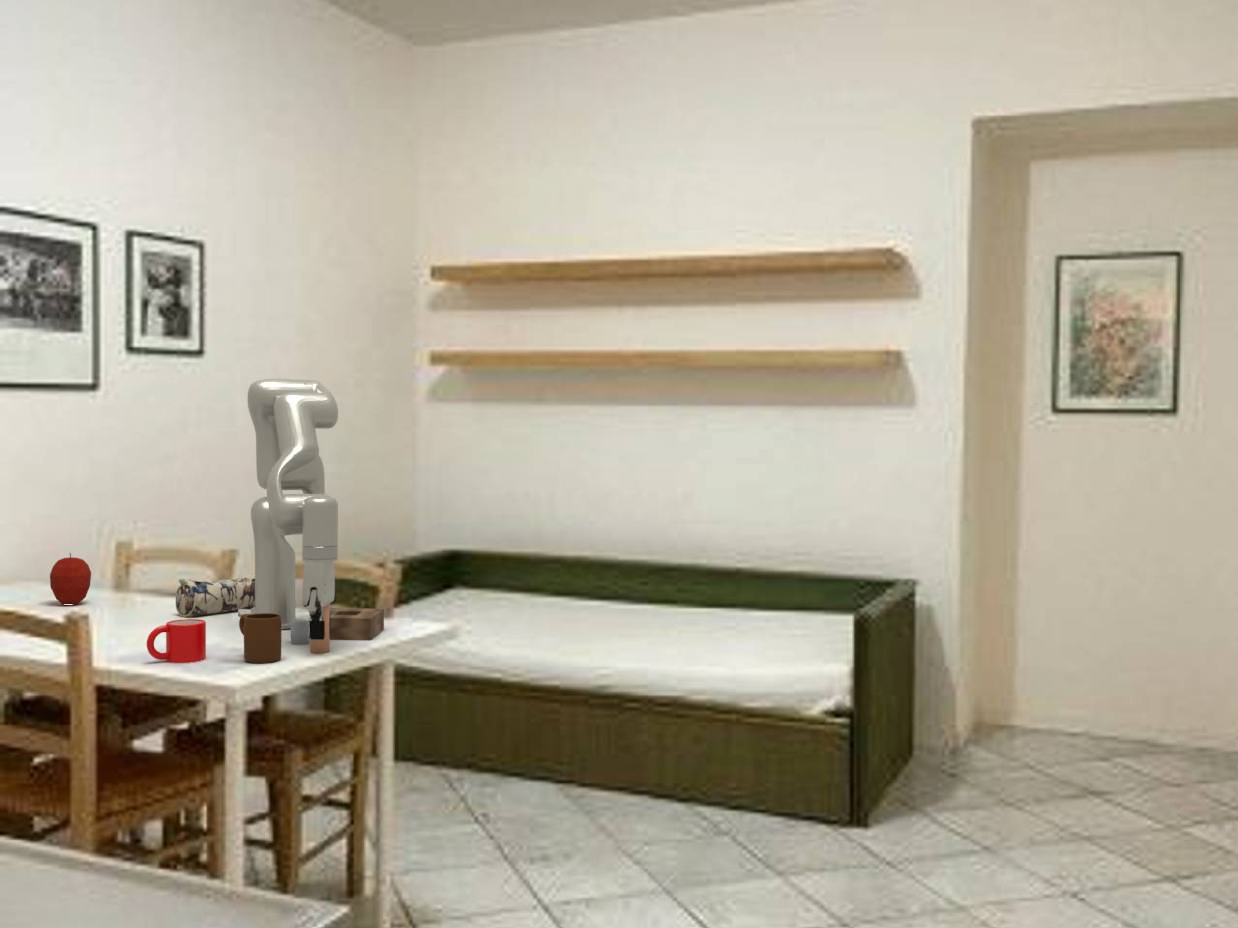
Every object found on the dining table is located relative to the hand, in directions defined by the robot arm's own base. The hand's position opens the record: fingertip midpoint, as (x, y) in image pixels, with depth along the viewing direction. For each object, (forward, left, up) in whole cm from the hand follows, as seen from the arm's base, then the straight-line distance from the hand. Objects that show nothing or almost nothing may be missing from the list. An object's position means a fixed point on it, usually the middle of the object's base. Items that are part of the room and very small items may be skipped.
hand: (319, 636), depth 269 cm
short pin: (-7, +9, -3) cm, 12 cm away
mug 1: (-27, -12, -4) cm, 30 cm away
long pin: (0, 0, -3) cm, 3 cm away
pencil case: (-39, +49, -4) cm, 63 cm away
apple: (-82, +57, -3) cm, 100 cm away
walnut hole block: (+1, +21, -3) cm, 21 cm away
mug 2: (-11, -9, -4) cm, 15 cm away
